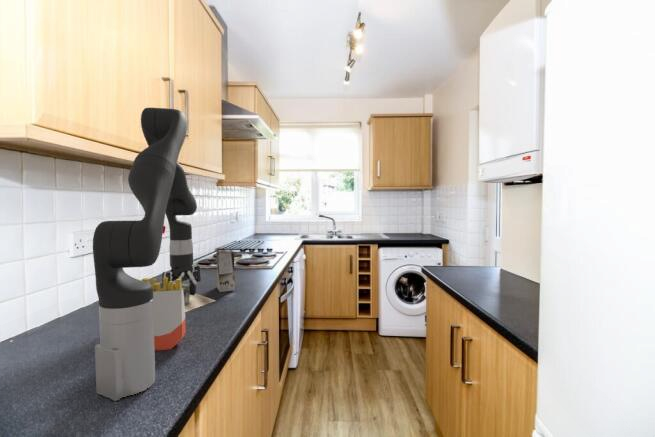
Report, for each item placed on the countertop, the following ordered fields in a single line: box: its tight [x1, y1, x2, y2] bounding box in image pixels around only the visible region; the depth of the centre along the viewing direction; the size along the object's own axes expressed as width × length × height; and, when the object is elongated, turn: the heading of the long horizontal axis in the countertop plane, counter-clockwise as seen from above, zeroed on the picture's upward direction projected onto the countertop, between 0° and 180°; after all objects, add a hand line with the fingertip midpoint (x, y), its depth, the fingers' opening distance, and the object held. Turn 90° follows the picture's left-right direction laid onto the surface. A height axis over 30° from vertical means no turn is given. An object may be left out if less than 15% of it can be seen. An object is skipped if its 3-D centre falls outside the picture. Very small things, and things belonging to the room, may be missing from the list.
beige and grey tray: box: [159, 281, 217, 313], centre depth 119 cm, size 20×28×5 cm
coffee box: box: [216, 248, 236, 293], centre depth 138 cm, size 9×6×16 cm
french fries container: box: [141, 277, 186, 351], centre depth 83 cm, size 5×11×18 cm, turn 102°
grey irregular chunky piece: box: [183, 287, 190, 304], centre depth 116 cm, size 11×8×4 cm
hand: (182, 297), depth 116 cm, fingers open, 8 cm apart
